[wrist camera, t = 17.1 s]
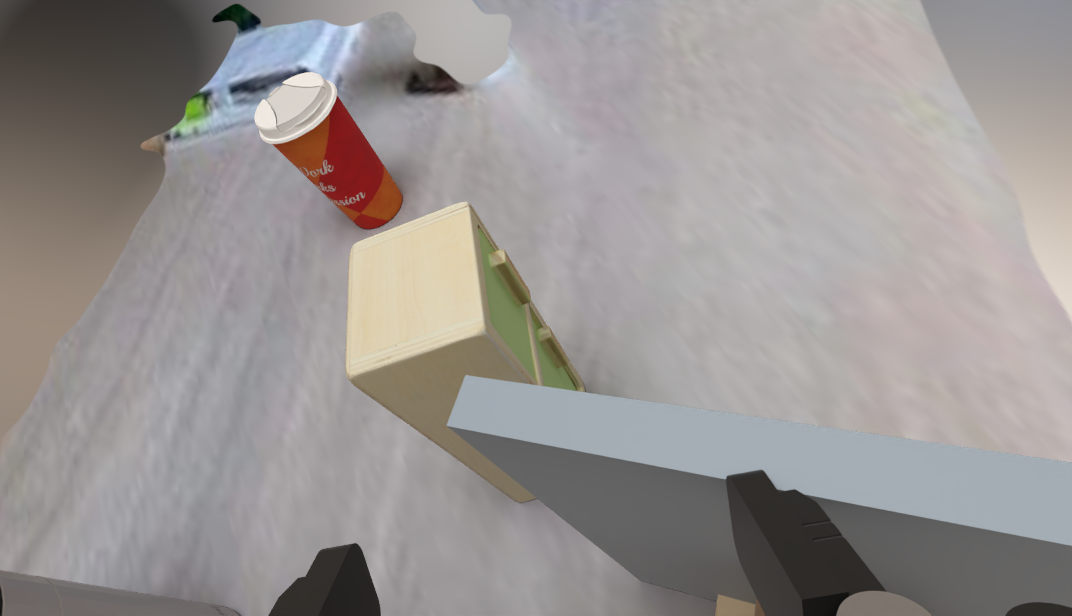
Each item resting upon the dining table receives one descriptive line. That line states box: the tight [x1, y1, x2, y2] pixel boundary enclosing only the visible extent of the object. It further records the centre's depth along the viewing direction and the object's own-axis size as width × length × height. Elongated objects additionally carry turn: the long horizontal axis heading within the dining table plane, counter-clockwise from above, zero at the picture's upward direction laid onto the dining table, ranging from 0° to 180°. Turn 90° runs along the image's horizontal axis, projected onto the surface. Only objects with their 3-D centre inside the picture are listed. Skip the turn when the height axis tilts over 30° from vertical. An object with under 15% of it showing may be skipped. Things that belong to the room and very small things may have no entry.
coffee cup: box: [254, 72, 403, 229], centre depth 59 cm, size 8×8×15 cm
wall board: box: [447, 375, 1072, 616], centre depth 21 cm, size 15×20×26 cm
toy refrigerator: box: [345, 202, 585, 503], centre depth 35 cm, size 8×7×21 cm
